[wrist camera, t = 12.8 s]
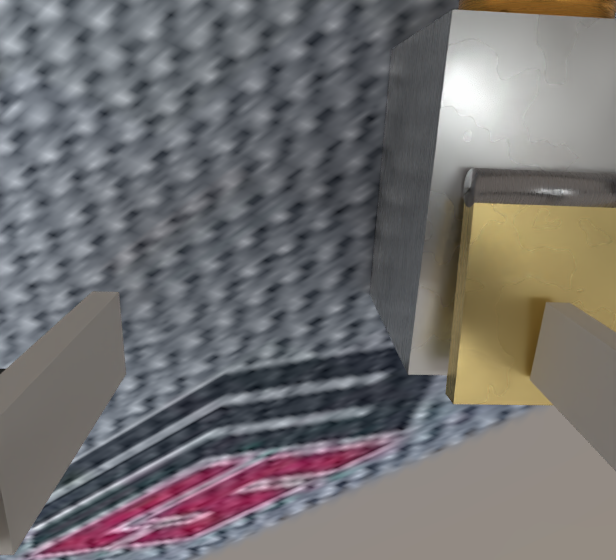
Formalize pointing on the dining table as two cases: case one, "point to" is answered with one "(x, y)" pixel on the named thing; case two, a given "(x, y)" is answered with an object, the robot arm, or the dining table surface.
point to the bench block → (477, 147)
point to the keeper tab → (526, 274)
